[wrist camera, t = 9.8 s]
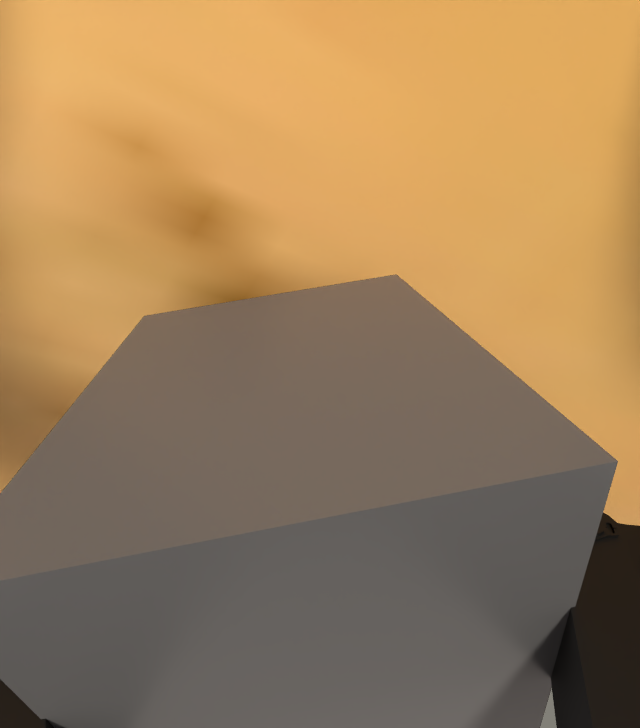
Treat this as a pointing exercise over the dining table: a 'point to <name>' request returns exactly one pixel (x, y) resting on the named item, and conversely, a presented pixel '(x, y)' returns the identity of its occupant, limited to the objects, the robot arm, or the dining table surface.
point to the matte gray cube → (298, 526)
